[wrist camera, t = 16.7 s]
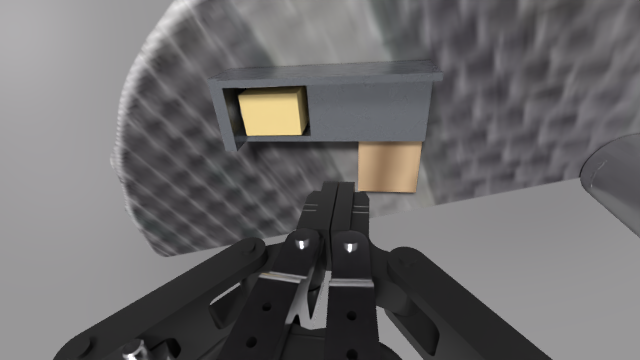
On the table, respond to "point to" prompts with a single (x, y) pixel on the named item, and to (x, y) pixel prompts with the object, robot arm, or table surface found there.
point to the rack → (336, 100)
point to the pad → (389, 165)
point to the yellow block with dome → (274, 110)
